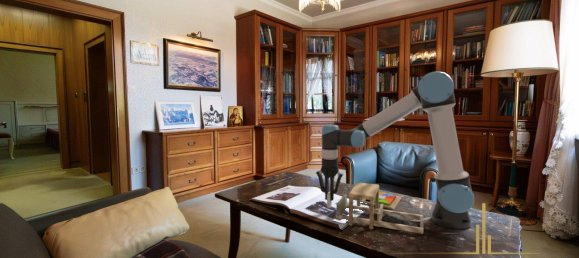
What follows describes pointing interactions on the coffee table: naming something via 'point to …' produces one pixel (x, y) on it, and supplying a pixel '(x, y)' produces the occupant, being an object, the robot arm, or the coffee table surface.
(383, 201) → the wooden puzzle
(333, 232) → the coffee table surface
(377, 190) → the stool
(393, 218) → the rock
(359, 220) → the sled
